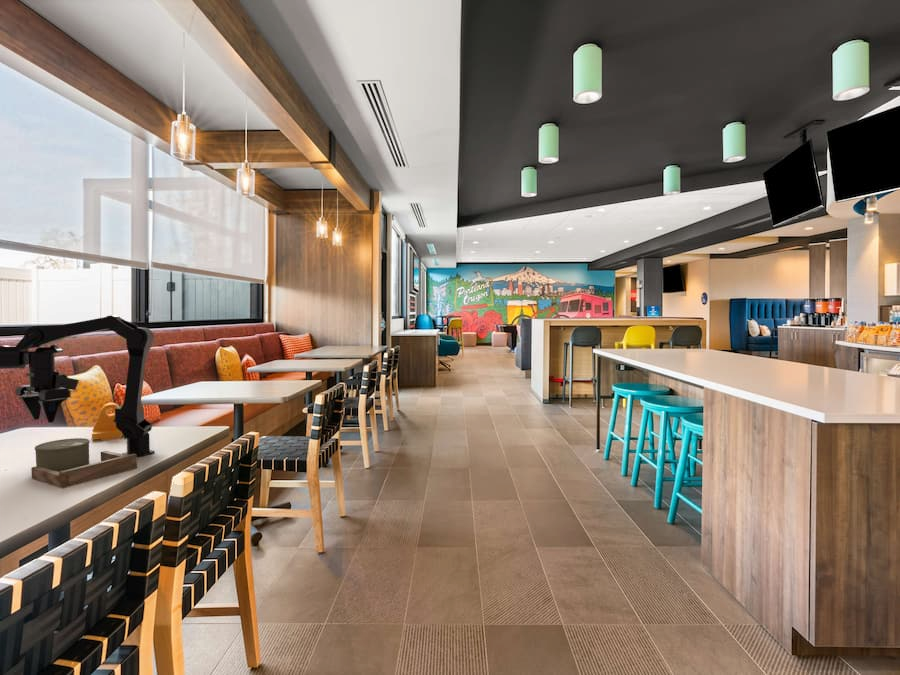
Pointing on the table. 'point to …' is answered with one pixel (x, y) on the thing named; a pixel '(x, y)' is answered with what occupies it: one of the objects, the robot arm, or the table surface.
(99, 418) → the bracket
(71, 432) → the table surface
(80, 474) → the pocket
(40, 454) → the can
